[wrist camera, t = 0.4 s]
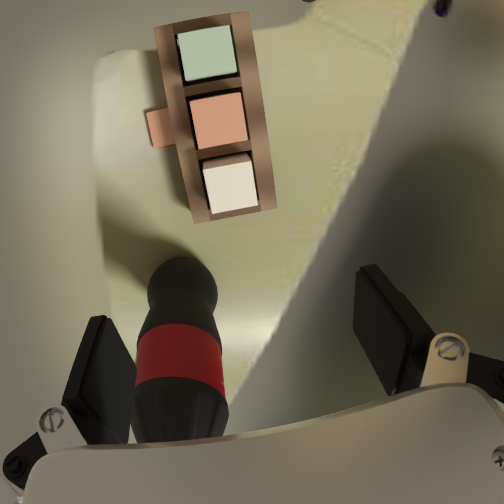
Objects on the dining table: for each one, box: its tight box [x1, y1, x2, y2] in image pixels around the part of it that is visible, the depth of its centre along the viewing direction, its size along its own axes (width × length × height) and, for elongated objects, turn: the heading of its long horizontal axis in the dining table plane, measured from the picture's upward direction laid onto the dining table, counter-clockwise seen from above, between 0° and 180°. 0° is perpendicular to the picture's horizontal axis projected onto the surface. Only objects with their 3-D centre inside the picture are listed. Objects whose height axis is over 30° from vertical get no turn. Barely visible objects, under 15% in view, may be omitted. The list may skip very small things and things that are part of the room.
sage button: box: [178, 25, 237, 81], centre depth 25 cm, size 4×4×4 cm
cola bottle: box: [130, 258, 229, 443], centre depth 28 cm, size 8×8×30 cm
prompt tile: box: [146, 108, 175, 148], centre depth 31 cm, size 4×2×1 cm, turn 8°
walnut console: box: [154, 11, 277, 224], centre depth 30 cm, size 21×9×3 cm, turn 8°
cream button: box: [203, 153, 258, 214], centre depth 32 cm, size 4×4×4 cm
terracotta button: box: [190, 92, 248, 149], centre depth 28 cm, size 4×4×4 cm
